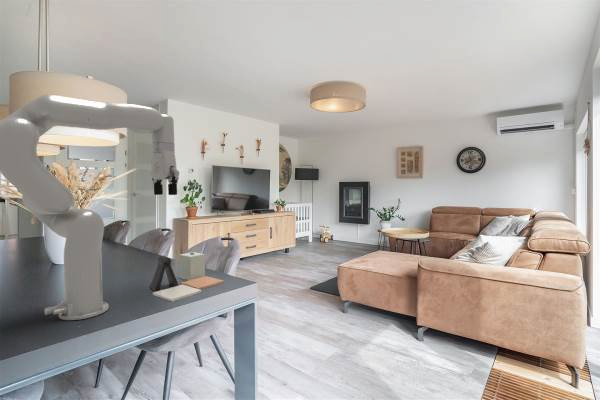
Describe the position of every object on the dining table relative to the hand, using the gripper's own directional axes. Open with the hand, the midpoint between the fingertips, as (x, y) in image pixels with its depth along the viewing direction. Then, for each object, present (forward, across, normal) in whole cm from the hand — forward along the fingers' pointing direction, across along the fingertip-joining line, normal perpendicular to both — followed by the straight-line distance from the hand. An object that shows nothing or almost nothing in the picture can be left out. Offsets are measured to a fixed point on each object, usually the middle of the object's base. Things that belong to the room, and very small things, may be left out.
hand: (165, 194), depth 118 cm
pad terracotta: (+36, +5, +12) cm, 38 cm away
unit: (+36, -6, +14) cm, 39 cm away
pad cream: (+36, +8, -1) cm, 37 cm away
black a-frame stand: (+36, -2, 0) cm, 36 cm away
